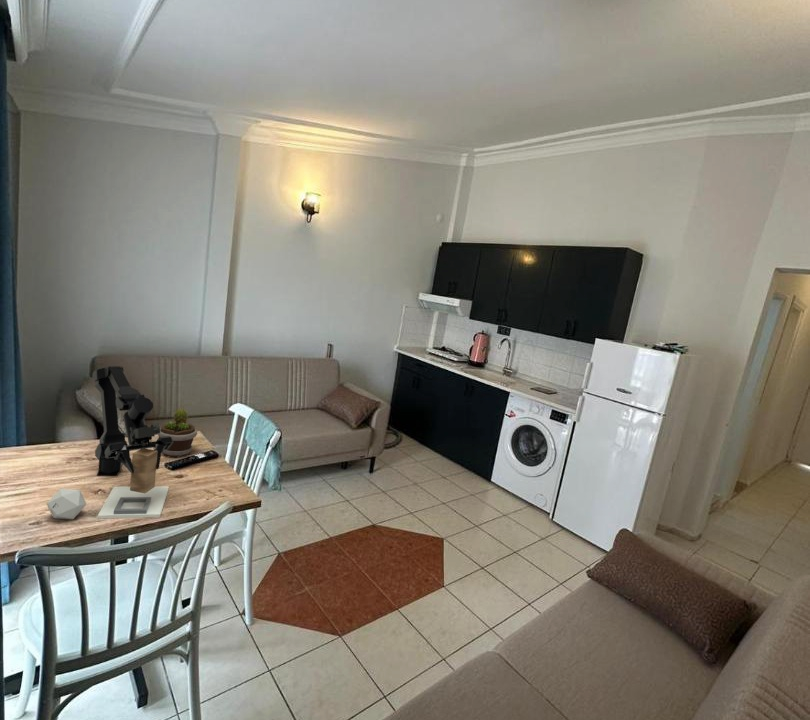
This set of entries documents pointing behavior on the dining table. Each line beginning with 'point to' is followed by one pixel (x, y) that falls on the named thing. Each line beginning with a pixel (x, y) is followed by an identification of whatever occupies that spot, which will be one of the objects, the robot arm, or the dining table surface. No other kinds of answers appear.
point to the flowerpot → (179, 435)
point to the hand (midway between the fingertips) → (145, 470)
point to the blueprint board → (134, 503)
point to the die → (66, 504)
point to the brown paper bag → (143, 470)
